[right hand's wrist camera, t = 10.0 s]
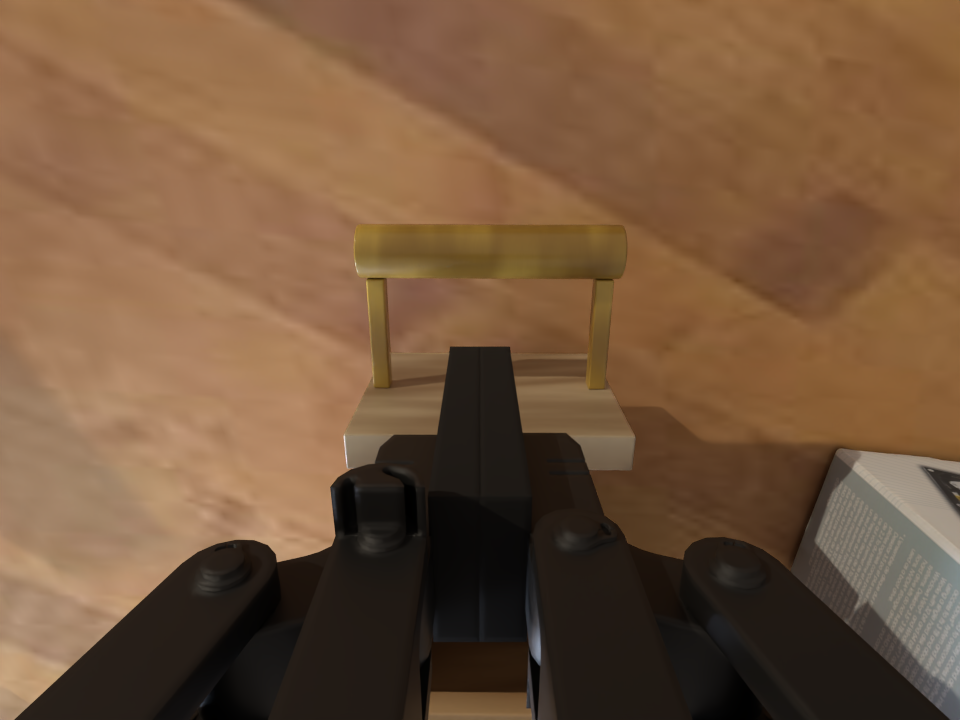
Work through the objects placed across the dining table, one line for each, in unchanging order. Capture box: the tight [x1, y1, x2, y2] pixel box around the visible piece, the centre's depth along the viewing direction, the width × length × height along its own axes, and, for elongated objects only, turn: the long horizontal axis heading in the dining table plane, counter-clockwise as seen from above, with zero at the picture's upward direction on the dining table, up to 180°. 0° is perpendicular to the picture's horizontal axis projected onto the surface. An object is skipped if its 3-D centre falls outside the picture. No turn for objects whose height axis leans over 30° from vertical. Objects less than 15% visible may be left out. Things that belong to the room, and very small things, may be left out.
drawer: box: [344, 224, 636, 693], centre depth 22 cm, size 21×9×7 cm, turn 0°
